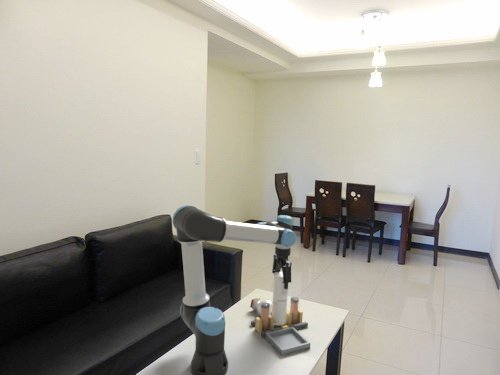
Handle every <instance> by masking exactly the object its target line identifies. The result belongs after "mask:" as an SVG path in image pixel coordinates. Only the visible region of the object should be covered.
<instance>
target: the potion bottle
mask: <svg viewBox="0 0 500 375" xmlns="http://www.w3.org/2000/svg"><path fill="white" fill-rule="evenodd" d="M262 303H269V304H270V307H269V315H271V316H272V307H273V300H270V299H267V298H266V299H262V300H261V298H258V297H256V298H253V299H251V302H250V306H249V307H250V308H251V309H253V310H254V311H256V312H257V313H258V314H259V317H261V304H262Z"/></svg>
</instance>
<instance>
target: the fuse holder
mask: <svg viewBox="0 0 500 375" xmlns="http://www.w3.org/2000/svg"><path fill="white" fill-rule="evenodd" d="M303 313H304V312H303V311H302V310H301V309H300V308H298V320H297V324H294V325H292V324H291V323H292V314H291V313H290V310H287V312H286V323H285V324H284V325H281V327H277V328H274V325H275V324H274V318H273V317H272V316H271V315H269V327H268V331H262V320H261V317H260V316H257V317H255V320H251V321H250V326H251V327H255V330H256V331H257V332H258V334H260V337H261V338H266V333H268V332H272V331H276V330H281V329H285V328H289V327H294V328H295V329H296V330H297V331H298V330H300V329H305V328H309V326H308V325H309V322H307V321H304V322H303Z"/></svg>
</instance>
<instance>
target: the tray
mask: <svg viewBox="0 0 500 375" xmlns="http://www.w3.org/2000/svg"><path fill="white" fill-rule="evenodd" d="M265 339H266V340H267V341H268V342H269V344H271V346H272V347H273V349H275V351H277V352H278V354H279V355H280V356H281V357H283V356H286V355H291V354H294V353H297V352H301V351H305V350H308V349H311V342H310V341H309V340H308V339H307V338H306V337H305V336H304V335H302V334H301V333H300V332H299V331H298V329H297V330H296V329H295V328H294V327H289V328H285V329H281V330H276V331H272V332H268V333H266V337H265Z"/></svg>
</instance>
